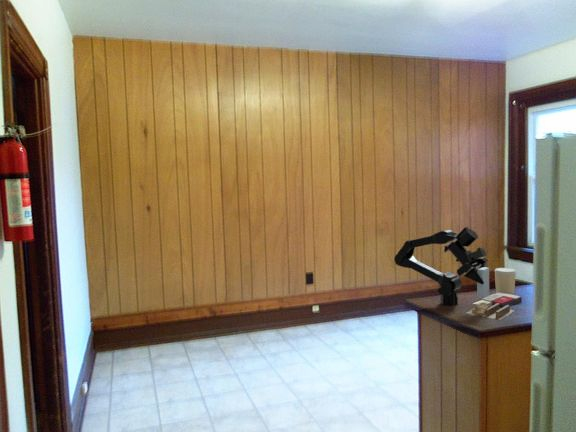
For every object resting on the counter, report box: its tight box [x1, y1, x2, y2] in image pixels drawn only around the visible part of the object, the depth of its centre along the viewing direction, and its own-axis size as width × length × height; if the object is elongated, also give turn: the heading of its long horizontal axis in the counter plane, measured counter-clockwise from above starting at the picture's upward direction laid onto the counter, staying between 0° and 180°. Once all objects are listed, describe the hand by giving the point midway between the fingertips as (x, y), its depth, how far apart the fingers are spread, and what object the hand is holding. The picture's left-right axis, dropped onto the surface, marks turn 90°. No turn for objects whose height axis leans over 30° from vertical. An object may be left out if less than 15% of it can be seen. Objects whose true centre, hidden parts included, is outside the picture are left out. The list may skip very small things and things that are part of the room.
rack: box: [466, 303, 516, 321], centre depth 191 cm, size 14×16×4 cm
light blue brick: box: [476, 266, 490, 299], centre depth 192 cm, size 2×6×12 cm, turn 134°
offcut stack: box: [471, 299, 492, 314], centre depth 193 cm, size 5×9×3 cm, turn 134°
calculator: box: [479, 292, 523, 308], centre depth 204 cm, size 11×4×15 cm
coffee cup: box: [494, 267, 517, 295], centre depth 220 cm, size 9×9×12 cm
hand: (486, 282), depth 191 cm, fingers closed on light blue brick, 6 cm apart
